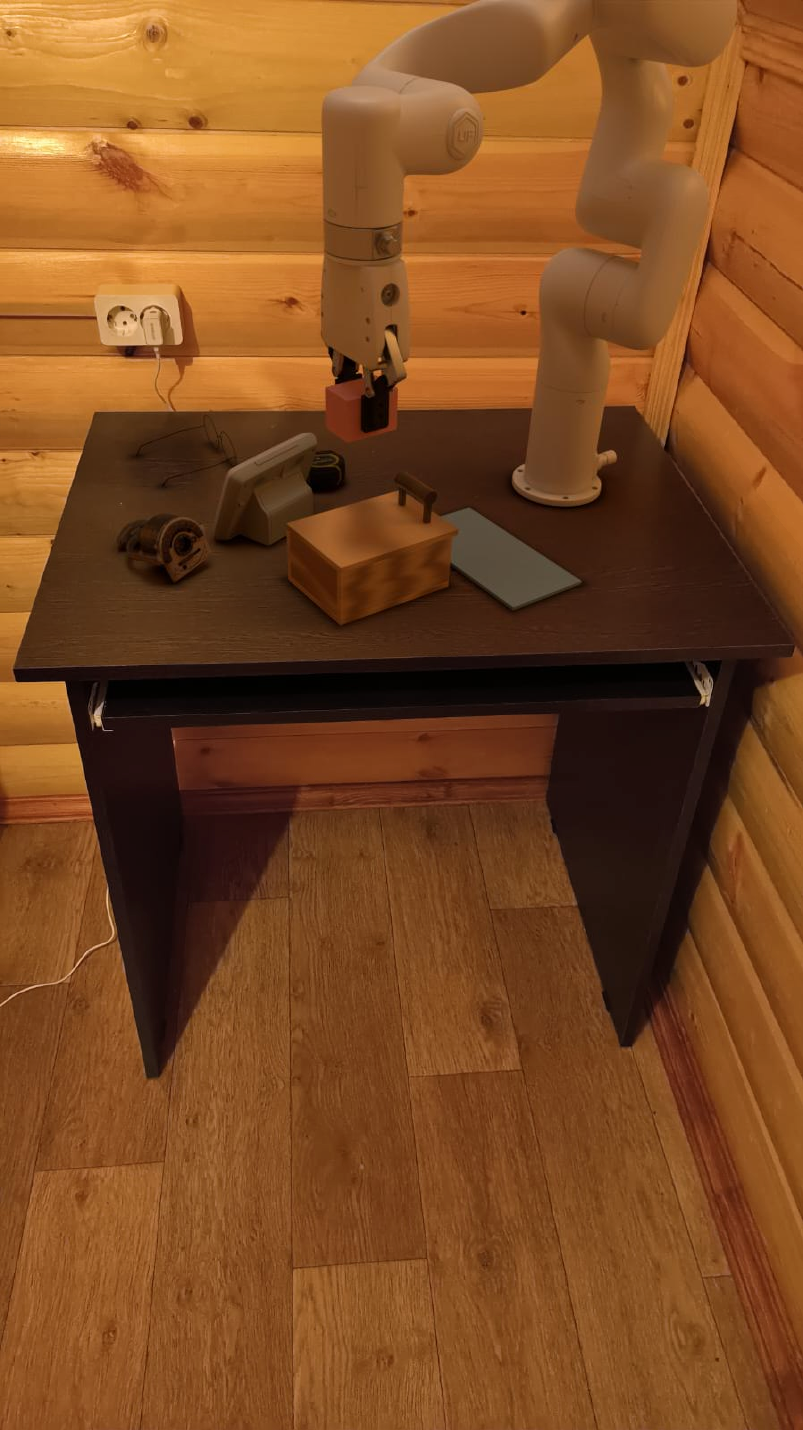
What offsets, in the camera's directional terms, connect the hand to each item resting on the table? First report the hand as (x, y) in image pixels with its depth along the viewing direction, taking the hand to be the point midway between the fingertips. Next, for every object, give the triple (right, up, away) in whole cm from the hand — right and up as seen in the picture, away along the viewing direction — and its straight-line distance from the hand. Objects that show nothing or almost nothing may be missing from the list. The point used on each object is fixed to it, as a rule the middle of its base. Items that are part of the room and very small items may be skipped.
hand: (361, 419), depth 109 cm
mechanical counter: (-25, -12, +17) cm, 32 cm away
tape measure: (-8, +1, +34) cm, 35 cm away
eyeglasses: (-26, +4, +37) cm, 46 cm away
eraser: (0, -1, +1) cm, 1 cm away
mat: (+15, -12, +20) cm, 28 cm away
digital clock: (-13, -7, +24) cm, 29 cm away
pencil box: (0, -16, +14) cm, 21 cm away
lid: (+1, -10, +10) cm, 14 cm away
